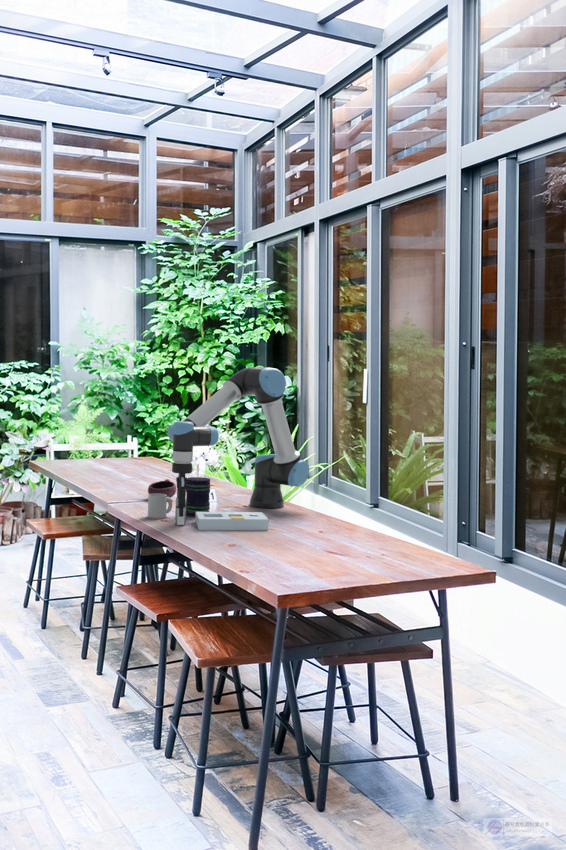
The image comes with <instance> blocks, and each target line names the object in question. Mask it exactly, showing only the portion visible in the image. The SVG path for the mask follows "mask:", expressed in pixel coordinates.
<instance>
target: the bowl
mask: <svg viewBox="0 0 566 850" xmlns="http://www.w3.org/2000/svg"><path fill="white" fill-rule="evenodd" d="M147 493H148V495H149V494H156V493H157V494H166V495H167V497H169V498H170V499H172V498H173V497H174V496H175V495H176V494H177V484H176V483H174V481H171V480H170V479H167V478H166V479H164V480H160V481H155V482H152V483H151V484H149V485H148V488H147Z"/></svg>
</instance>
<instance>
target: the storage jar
mask: <svg viewBox="0 0 566 850" xmlns="http://www.w3.org/2000/svg"><path fill="white" fill-rule="evenodd" d="M210 493H211V478H208V477H202V476H201V477H199V476H198V477H197V476H196V477H194V476H193V477H187V487H186V498H187V499H186V517H189V518H195V514H196V512H210V508H211V505H210V503H211V502H210Z"/></svg>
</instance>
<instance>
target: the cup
mask: <svg viewBox="0 0 566 850" xmlns="http://www.w3.org/2000/svg"><path fill="white" fill-rule="evenodd" d="M167 506H168V507H167ZM172 510H173V500H172V498H169V497H167V495H166V494H157V493H156V494H149V493H148V502H147V517H148V518H149V519H155V520H156V519H157V520H158V519H159V520H161V519H165V518H166V517H167V514H169V513H170V512H172Z"/></svg>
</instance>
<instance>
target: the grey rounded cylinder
mask: <svg viewBox="0 0 566 850" xmlns="http://www.w3.org/2000/svg"><path fill="white" fill-rule="evenodd" d="M186 499H187V498H185V505H186ZM176 506H178V498H177V497H175V516H174V517H175V518H174V525H175V526H178V525H177V509H178V508H176ZM186 523H187V516H186V506H185V520H184V525H183V526H186Z"/></svg>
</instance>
